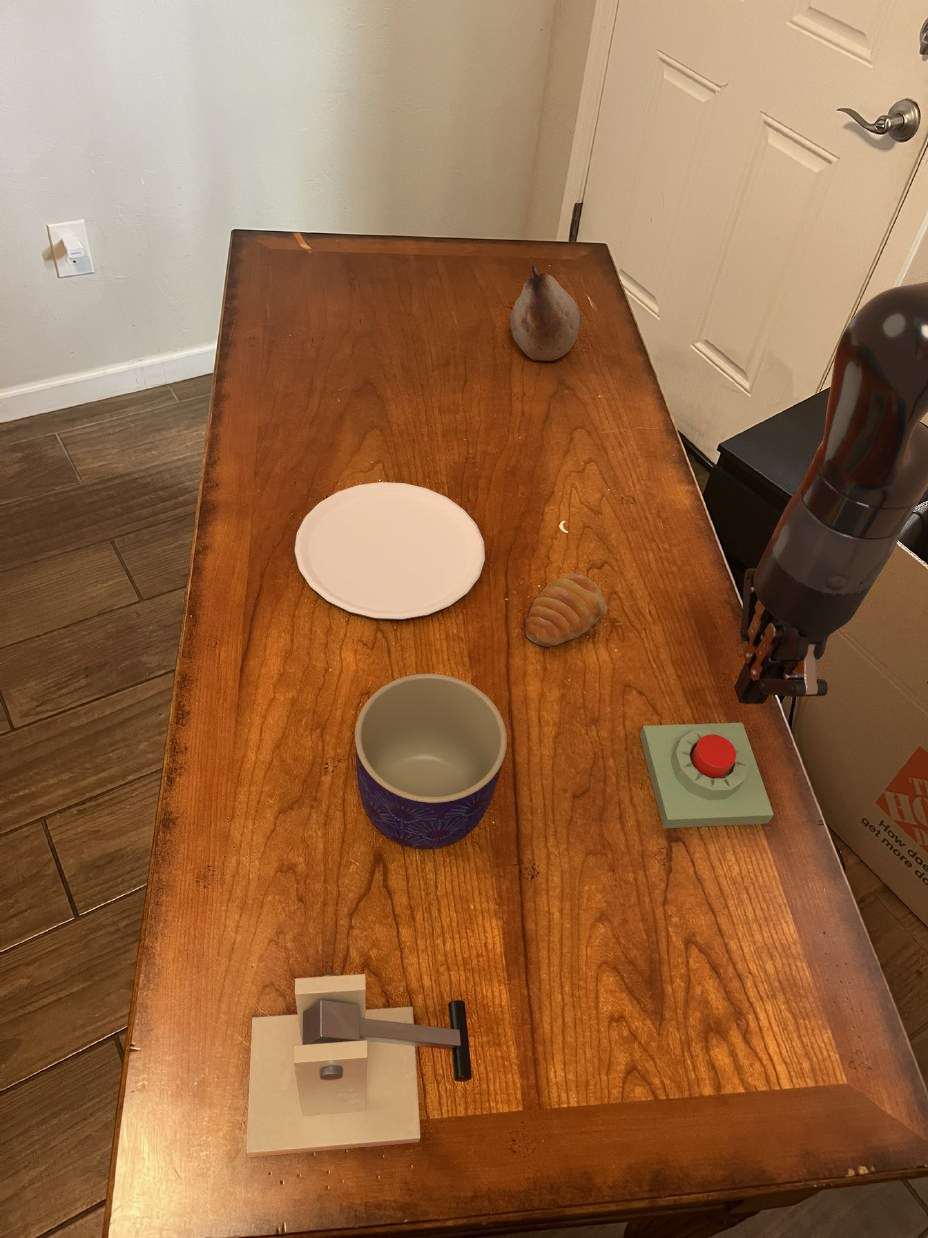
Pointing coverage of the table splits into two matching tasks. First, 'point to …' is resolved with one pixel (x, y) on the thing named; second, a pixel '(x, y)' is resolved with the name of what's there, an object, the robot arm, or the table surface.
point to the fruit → (544, 318)
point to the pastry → (565, 610)
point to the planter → (428, 758)
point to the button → (714, 755)
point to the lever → (389, 1031)
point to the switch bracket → (329, 1080)
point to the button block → (703, 778)
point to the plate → (389, 551)
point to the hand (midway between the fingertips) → (747, 696)
